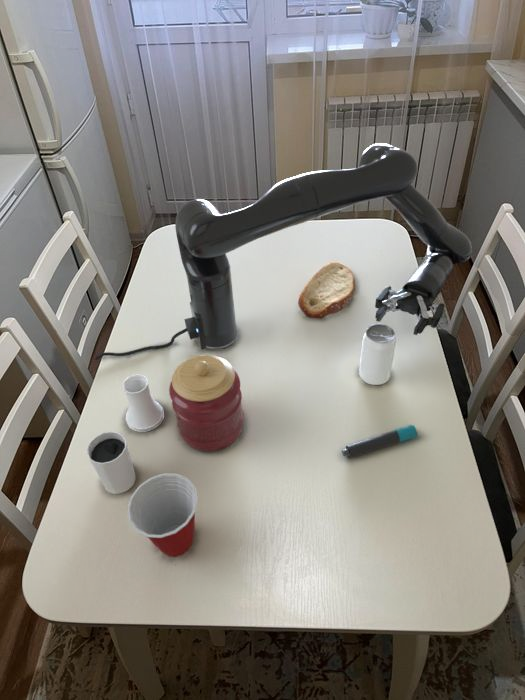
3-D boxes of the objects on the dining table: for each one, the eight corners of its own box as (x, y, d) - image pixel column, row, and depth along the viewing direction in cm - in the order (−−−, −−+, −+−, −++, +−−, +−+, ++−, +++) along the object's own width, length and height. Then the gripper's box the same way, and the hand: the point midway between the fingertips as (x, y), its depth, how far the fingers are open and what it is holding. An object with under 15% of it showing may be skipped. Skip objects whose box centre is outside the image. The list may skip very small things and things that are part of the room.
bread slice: (342, 264, 144) (342, 253, 142) (375, 303, 132) (377, 291, 129) (279, 281, 140) (279, 269, 138) (307, 323, 128) (308, 311, 125)
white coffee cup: (106, 464, 101) (92, 431, 95) (141, 464, 101) (129, 431, 94) (97, 496, 97) (81, 463, 90) (134, 496, 96) (121, 463, 89)
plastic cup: (144, 514, 94) (129, 475, 85) (206, 507, 94) (197, 468, 86) (139, 576, 86) (122, 539, 78) (207, 569, 86) (197, 532, 78)
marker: (343, 460, 100) (347, 458, 98) (339, 447, 101) (342, 446, 99) (413, 437, 103) (418, 435, 101) (409, 425, 104) (414, 423, 102)
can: (389, 388, 112) (396, 345, 104) (357, 384, 113) (362, 342, 105) (390, 366, 117) (397, 323, 108) (360, 362, 118) (364, 320, 110)
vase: (147, 437, 106) (137, 404, 99) (118, 422, 109) (106, 389, 102) (171, 411, 110) (163, 378, 103) (143, 398, 113) (133, 364, 106)
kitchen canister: (253, 409, 110) (248, 345, 97) (230, 460, 101) (221, 398, 89) (195, 395, 113) (183, 332, 101) (167, 443, 104) (150, 381, 92)
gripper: (397, 263, 126) (367, 300, 117) (458, 281, 120) (431, 322, 111) (393, 288, 131) (364, 327, 122) (451, 307, 125) (425, 349, 116)
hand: (396, 325), depth 116 cm, fingers open, 8 cm apart
